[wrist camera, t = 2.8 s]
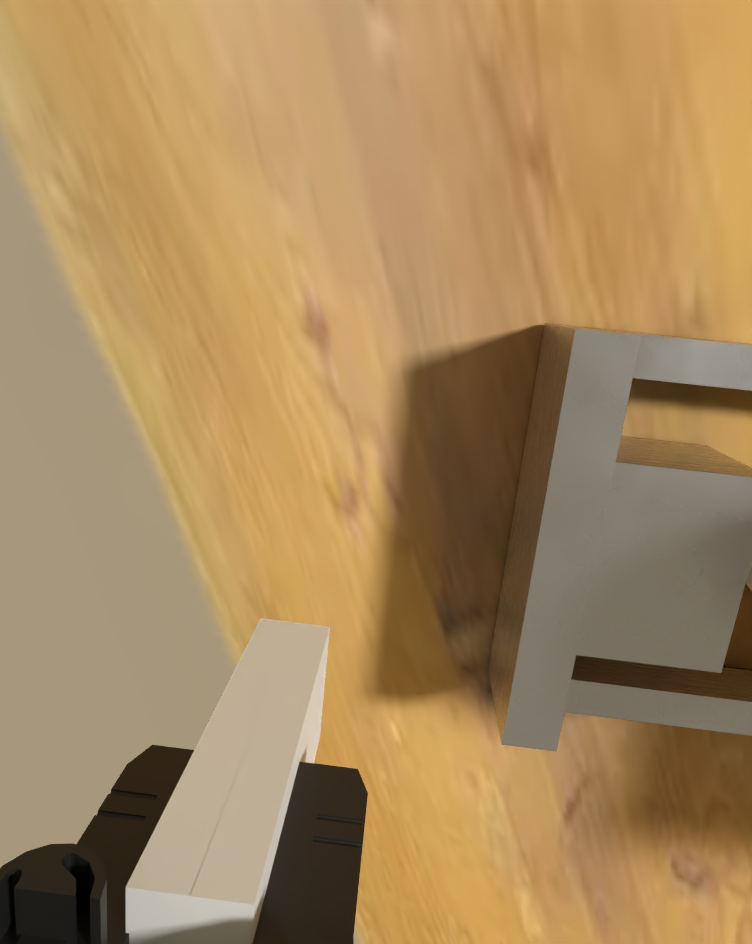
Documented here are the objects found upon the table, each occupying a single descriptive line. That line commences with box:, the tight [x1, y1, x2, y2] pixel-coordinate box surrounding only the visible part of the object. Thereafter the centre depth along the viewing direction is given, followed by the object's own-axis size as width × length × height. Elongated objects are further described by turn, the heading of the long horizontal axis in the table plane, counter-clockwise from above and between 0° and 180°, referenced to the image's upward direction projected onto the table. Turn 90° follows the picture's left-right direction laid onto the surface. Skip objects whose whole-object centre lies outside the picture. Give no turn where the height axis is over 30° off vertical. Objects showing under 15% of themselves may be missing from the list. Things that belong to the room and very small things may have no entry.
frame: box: [488, 323, 752, 751], centre depth 24 cm, size 15×17×5 cm
